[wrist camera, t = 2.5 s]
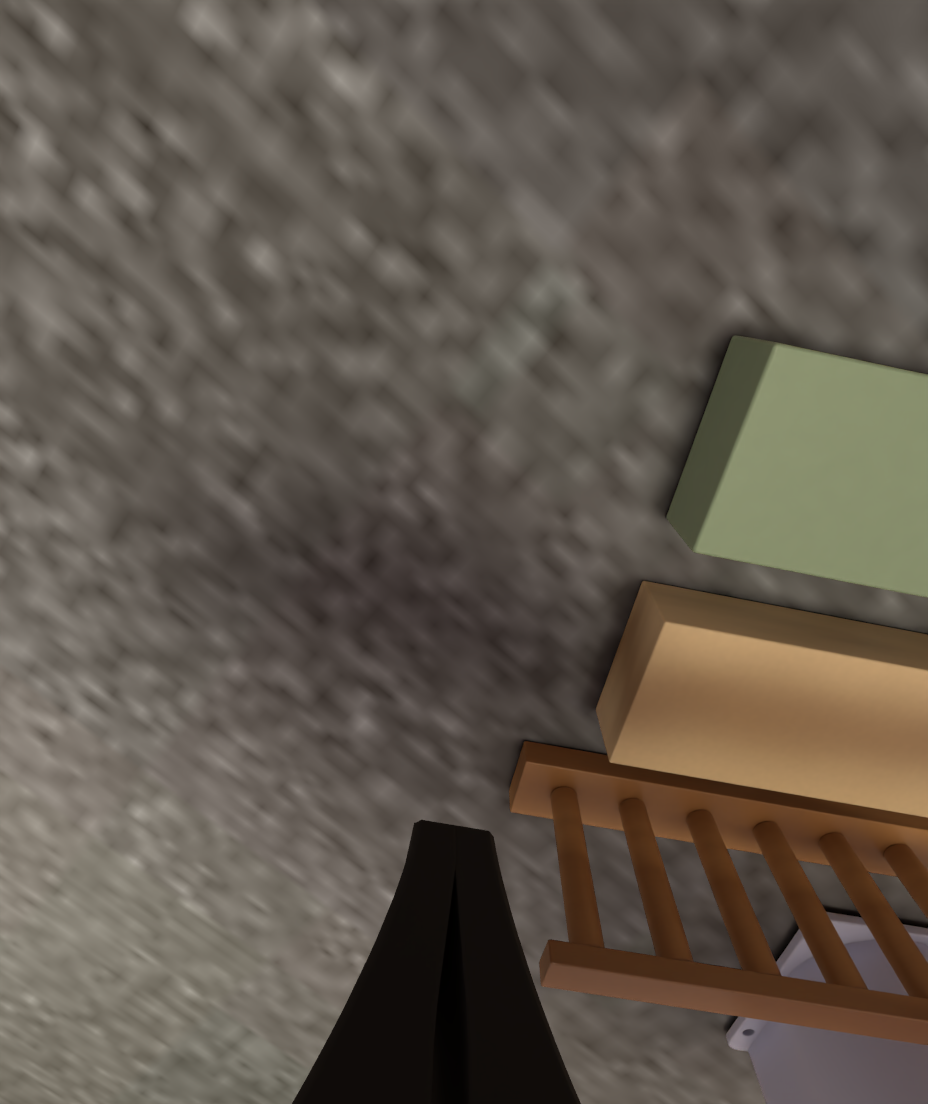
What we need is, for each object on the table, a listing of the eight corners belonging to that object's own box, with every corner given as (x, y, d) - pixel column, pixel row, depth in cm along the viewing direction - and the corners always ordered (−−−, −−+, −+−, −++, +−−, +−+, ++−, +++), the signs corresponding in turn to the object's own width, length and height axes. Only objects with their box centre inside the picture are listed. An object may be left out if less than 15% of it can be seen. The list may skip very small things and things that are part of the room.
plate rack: (1022, 876, 22) (1235, 1109, 16) (508, 790, 21) (518, 1000, 15) (1062, 833, 21) (1306, 1063, 15) (524, 739, 20) (541, 943, 14)
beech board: (986, 779, 20) (1048, 839, 18) (594, 709, 19) (608, 763, 17) (1077, 662, 18) (1160, 714, 16) (642, 579, 17) (664, 621, 15)
